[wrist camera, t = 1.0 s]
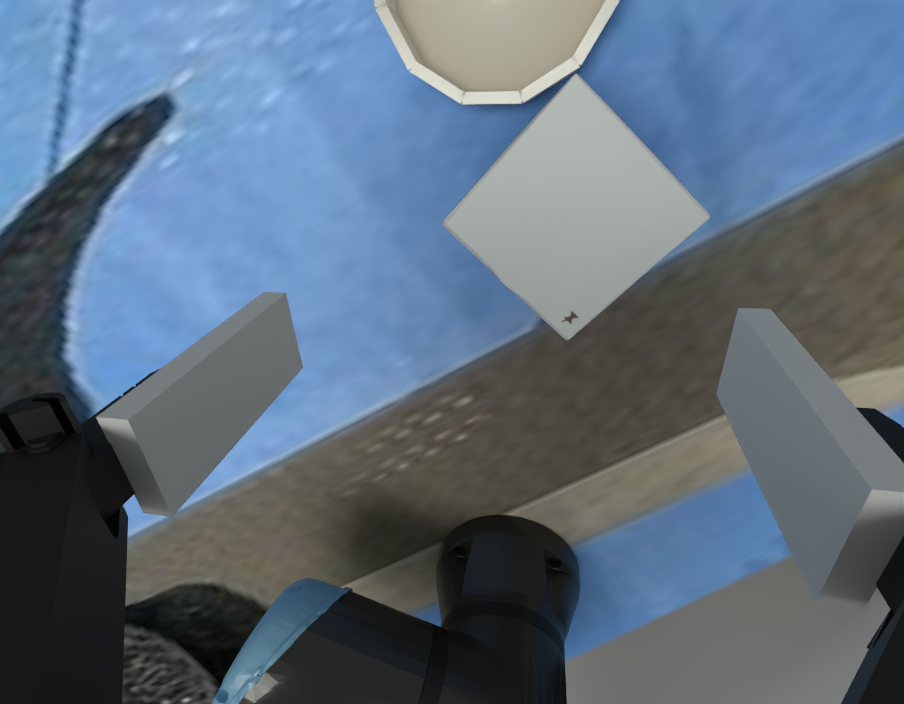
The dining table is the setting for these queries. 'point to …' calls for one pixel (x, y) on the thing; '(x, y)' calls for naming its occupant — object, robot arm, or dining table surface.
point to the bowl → (494, 44)
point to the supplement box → (574, 210)
